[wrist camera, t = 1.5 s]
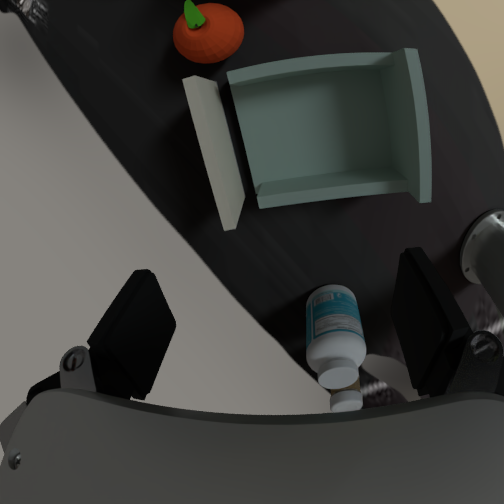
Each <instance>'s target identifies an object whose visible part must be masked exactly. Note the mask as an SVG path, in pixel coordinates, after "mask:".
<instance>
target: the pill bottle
mask: <svg viewBox="0 0 504 504" xmlns="http://www.w3.org/2000/svg"><path fill="white" fill-rule="evenodd" d="M365 356H366V345H365V340H364V335H363V330H362V325H361V320H360V315H359V311H358V306H357V302H356V298H355V296H354V294H353V293H352V292H351V291H350V290H349V289H348V288H346V287H344V286H341V285H326V286H323V287H320V288H318V289H317V290H315V291H314V292H313V293H312V294H311V295H310V296H309V298H308V300H307V304H306V358H307V362H308V365H309V366H310V367H311V369H312V370H314V371H315V372H317V373H318V382H319V384H320V385H321V386H322V387H325V388H328V389H340V388H345V387H347V386H350V385H352V384H353V383H354V382H355V381H356V380H357V379H358V367H359V366H360V365H361V364H362V362H363V361H364V359H365Z"/></svg>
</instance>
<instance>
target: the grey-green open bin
mask: <svg viewBox="0 0 504 504" xmlns="http://www.w3.org/2000/svg"><path fill="white" fill-rule="evenodd" d="M227 76H228V80H229V84H230V88H231V92H232V96H233V100H234V104H235V108H236V112H237V116H238V120H239V125H240V129H241V133H242V137H243V141H244V145H245V149H246V154H247V158H248V162H249V166H250V170H251V175H252V179H253V183H254V187H255V192H256V194H258V196H257V200H258V204H259V209H262V208H269V207H276V206H283V205H290V204H297V203H305V202H313V201H321V200H329V199H338V198H346V197H355V196H365V195H375V194H385V193H396V192H407V191H408V192H409V193H410V194H411V195H412V196H413V197H414V198H415V199H416V200H417V201H418V202H419V203H425V202H431V142H430V128H429V117H428V108H427V100H426V93H425V87H424V81H423V75H422V70H421V65H420V60H419V55H418V51H417V49H409V48H403V49H401V50H398V51H396V52H393V53H343V54H329V55H318V56H309V57H301V58H294V59H287V60H281V61H275V62H270V63H264V64H259V65H255V66H250V67H246V68H241V69H237V70H233V71H229V72H227Z"/></svg>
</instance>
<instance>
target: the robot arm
mask: <svg viewBox="0 0 504 504" xmlns="http://www.w3.org/2000/svg"><path fill="white" fill-rule="evenodd" d="M460 267H461V271H462V272H463V274H464V276H465V277H466V278H467V280H469V281H470V282H472V283H475V284H482V285H483V286H484V288H485V289H486V291H487V292H488V294H489V295H490V297H491V298H492V300H493V302H494V303H495V305H496V306H497V308H498V310H499V311H500V313H501V315H502V316H503V318H504V210H503V209H494V210H490V211H488V212H486V213H485V214H483V215H482V216H481V217H479V218H478V219H477V221H476V222H475V223H474V224H473V225H472V227H471V228H470V229H469V231H468V233H467V235H466V236H465V239H464V241H463V244H462V247H461V251H460ZM391 316H392V320H393V323H394V326H395V329H396V332H397V335H398V338H399V341H400V344H401V348H402V351H403V354H404V358H405V361H406V365H407V368H408V372H409V376H410V379H411V384H412V387H413V388H414V389H417V391H418V395H419V396H422V395H426V394H429V395H430V398H426V399H421V400H416V401H411V402H406V403H401V404H395V405H389V406H383V407H376V408H369V409H362V410H354V411H345V412H335V413H323V414H305V415H244V414H226V413H213V412H203V411H194V410H186V409H178V408H172V407H165V406H159V405H153V404H148V403H142V402H137V401H133V400H130V398H131V396H132V397H133V398H135V399H139V400H145V397H146V395H147V394H148V393H150V391H151V389H152V386H153V384H154V381H155V378H156V376H157V373H158V371H159V368H160V366H161V363H162V360H163V358H164V356H165V353H166V351H167V348H168V346H169V343H170V341H171V338H172V336H173V334H174V331H175V328H176V321H175V319H174V317H173V314H172V312H171V310H170V309H169V306H168V304H167V302H166V299H165V297H164V295H163V292H162V290H161V288H160V286H159V283H158V281H157V279H156V276H155V274H154V273H151V271H150V270H148V269H143V270H135V271H134V272H133V274H132V275H131V276H130V278H129V279H128V280H127V282H126V283H125V285H124V286H123V287H122V289H121V291H120V292H119V293H118V295H117V296H116V298H115V299H114V300H113V302H112V304H111V305H110V307H109V308H108V309H107V311H106V312H105V314H104V316H103V317H102V318H101V320H100V321H99V323H98V325H97V326H96V328H95V329H94V331H93V333H92V334H91V336H90V337H89V339H88V340H87V343H88V344H89V346H90V349H89V350H88V349H87V348H86V347H84V346H77V347H73V348H71V349H70V350H68V351H67V352H66V353H65V354H64V356H63V357H62V359H61V361H60V371H59V372H57V373H55V374H53V375H51V376H49V377H48V378H46V379H44V380H42V381H40V382H39V383H37V384H35V385H34V386H32V387H31V388H30V390H29V392H28V395H27V400H26V402H27V403H26V402H25V401H24V402H23V403H22V404H21V405H20V406H19V407H17V409H15V410H14V411H13V412H12V413H11V414H10V415H9V416H8V417H7V418H6V419H5V420H4V421H3V422H2V423H1V425H0V442H1V445H2V448H3V451H4V453H5V454H4V457H3V460H2V462H1V466H0V504H504V356H503V352H504V349H503V346H502V343H501V341H500V340H499V338H498V337H496V336H495V335H494V334H493V333H491V332H489V331H485V330H478V331H476V332H472V330H471V328H470V326H469V324H468V322H467V320H466V318H465V316H464V315H463V313H462V311H461V309H460V307H459V306H458V304H457V302H456V300H455V299H454V297H453V295H452V294H451V292H450V290H449V289H448V287H447V285H446V284H445V282H444V281H443V280H442V278H441V277H440V275H439V274H438V272H437V271H436V269H435V267H434V266H433V264H432V263H431V261H430V260H429V258H428V257H427V255H426V254H425V253H424V251H423V250H422V248H421V247H415V248H406V249H405V251H404V253H401V254H400V260H399V267H398V273H397V279H396V285H395V291H394V296H393V301H392V306H391Z"/></svg>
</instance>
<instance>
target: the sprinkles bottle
mask: <svg viewBox="0 0 504 504" xmlns="http://www.w3.org/2000/svg"><path fill="white" fill-rule="evenodd" d="M362 405H363V402H362V394H361V392H360V384H359V372H358V379H357V380H356V381H355V382H354V383H353V384H352V385H350V386H347V387H345V388H340V389H331V398H330V409H331V411H332V412H333V413H335V412H345V411H354V410H359V409H360V408H361V407H362Z"/></svg>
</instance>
